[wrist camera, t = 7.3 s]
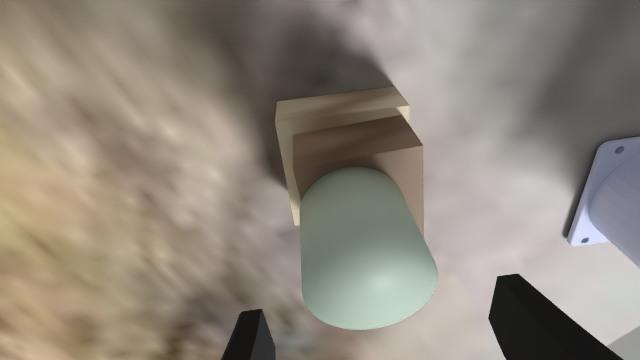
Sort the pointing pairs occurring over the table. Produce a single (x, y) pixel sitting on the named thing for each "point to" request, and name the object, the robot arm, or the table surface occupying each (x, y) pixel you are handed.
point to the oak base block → (330, 121)
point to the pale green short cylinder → (362, 251)
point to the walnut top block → (364, 156)
